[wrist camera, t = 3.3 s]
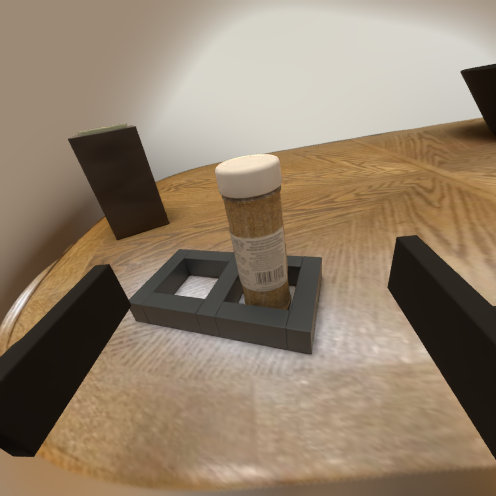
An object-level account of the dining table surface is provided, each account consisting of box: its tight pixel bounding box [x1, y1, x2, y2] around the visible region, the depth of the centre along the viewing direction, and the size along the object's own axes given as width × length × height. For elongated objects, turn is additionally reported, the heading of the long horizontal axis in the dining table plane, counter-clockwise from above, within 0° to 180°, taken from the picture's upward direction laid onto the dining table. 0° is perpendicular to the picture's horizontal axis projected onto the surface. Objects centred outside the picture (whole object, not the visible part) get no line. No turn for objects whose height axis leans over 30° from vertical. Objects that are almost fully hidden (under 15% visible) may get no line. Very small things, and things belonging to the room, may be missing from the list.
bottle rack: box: [129, 249, 322, 354], centre depth 25 cm, size 17×9×2 cm, turn 71°
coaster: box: [77, 124, 128, 136], centre depth 38 cm, size 7×7×1 cm
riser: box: [68, 126, 169, 240], centre depth 43 cm, size 9×9×16 cm
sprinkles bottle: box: [215, 154, 291, 310], centre depth 20 cm, size 5×5×13 cm
